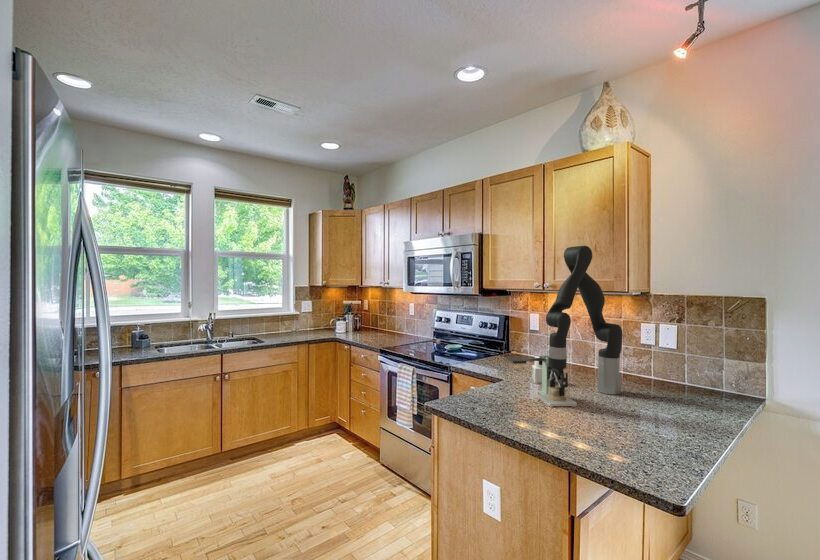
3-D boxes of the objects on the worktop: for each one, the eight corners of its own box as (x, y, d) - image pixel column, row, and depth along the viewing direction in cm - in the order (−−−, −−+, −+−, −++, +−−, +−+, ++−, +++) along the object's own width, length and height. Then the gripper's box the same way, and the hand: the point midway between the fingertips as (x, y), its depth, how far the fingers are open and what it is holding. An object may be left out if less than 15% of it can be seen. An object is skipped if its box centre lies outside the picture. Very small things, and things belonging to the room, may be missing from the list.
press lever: (545, 359, 186) (545, 354, 186) (555, 364, 176) (555, 359, 176) (505, 359, 184) (505, 354, 184) (513, 365, 174) (513, 359, 174)
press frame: (556, 392, 185) (557, 355, 185) (576, 406, 167) (577, 364, 166) (532, 393, 184) (532, 355, 184) (550, 407, 166) (550, 364, 165)
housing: (560, 396, 175) (561, 385, 175) (566, 400, 170) (566, 388, 170) (548, 397, 174) (548, 385, 174) (552, 400, 169) (553, 389, 169)
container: (546, 379, 208) (546, 355, 208) (550, 383, 200) (550, 358, 200) (531, 379, 209) (532, 355, 209) (534, 383, 201) (535, 358, 201)
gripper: (573, 360, 165) (573, 397, 165) (557, 353, 179) (557, 387, 180) (557, 360, 164) (556, 398, 165) (542, 353, 178) (541, 388, 179)
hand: (557, 392), depth 172 cm, fingers open, 8 cm apart
